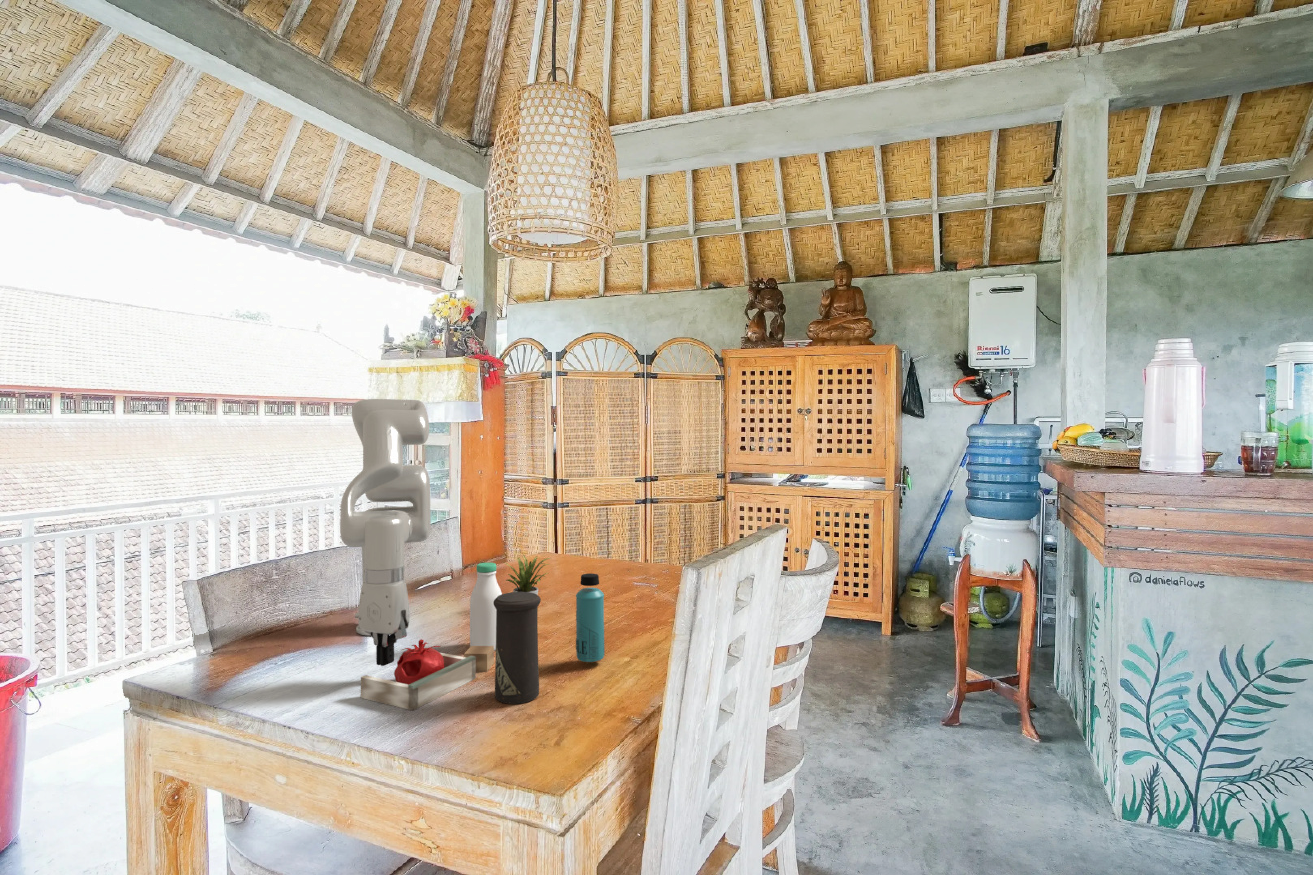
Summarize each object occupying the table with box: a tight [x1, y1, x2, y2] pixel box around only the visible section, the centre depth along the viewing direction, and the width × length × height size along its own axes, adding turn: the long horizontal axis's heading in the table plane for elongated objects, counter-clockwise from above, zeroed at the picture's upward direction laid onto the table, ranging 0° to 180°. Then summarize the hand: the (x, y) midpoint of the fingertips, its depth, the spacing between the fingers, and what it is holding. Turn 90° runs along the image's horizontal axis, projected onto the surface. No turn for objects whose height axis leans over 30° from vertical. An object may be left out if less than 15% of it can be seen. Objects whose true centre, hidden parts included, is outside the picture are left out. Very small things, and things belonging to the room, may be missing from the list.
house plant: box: [503, 553, 551, 596], centre depth 187 cm, size 14×14×16 cm
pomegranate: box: [393, 639, 444, 685], centre depth 134 cm, size 10×10×9 cm
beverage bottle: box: [575, 572, 606, 663], centre depth 145 cm, size 6×7×20 cm
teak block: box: [463, 646, 495, 673], centre depth 143 cm, size 5×5×4 cm
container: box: [493, 591, 541, 705], centre depth 128 cm, size 9×9×20 cm
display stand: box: [360, 652, 477, 711], centre depth 132 cm, size 14×17×5 cm
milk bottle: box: [469, 562, 503, 652], centre depth 156 cm, size 8×8×20 cm
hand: (385, 663), depth 136 cm, fingers closed
